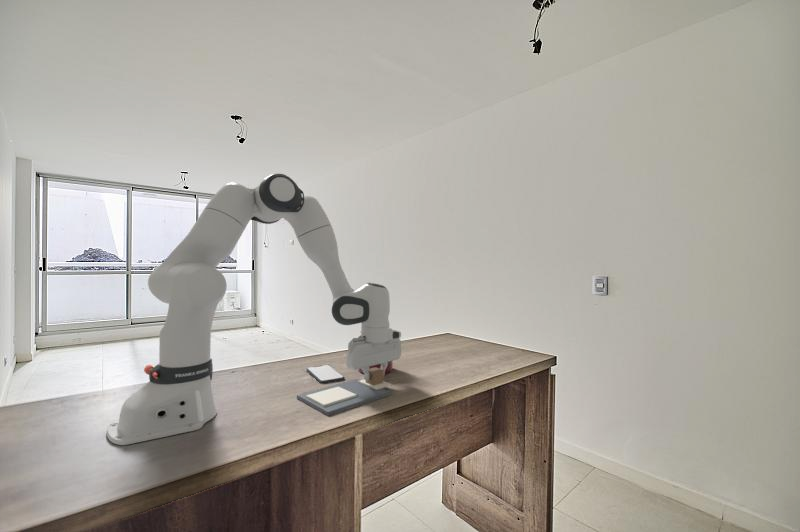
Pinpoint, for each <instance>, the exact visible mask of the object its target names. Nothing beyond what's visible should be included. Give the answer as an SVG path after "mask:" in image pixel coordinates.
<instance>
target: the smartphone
mask: <svg viewBox="0 0 800 532" xmlns="http://www.w3.org/2000/svg"><path fill="white" fill-rule="evenodd" d="M305 372H306V373H307V372H308V373H309V374H308V375H309V376H310V377H312V378H313V379H314V378H315V379H316V380H315V379H314V380H315V381H317V382H318V383H319V384H321V383H325V384H329V383H328V382H331V383H336V382H335V381H337V382H341V381H340V380H343V381H345V375H343V374H341V373H340V372H339V371H337V370H336V369H335V368H334V367H332V366H331V365H329V364H323V365H318V366H316V365H315V366H310V367H307V368H306V371H305Z"/></svg>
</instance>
